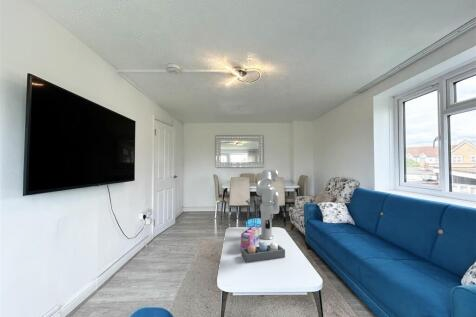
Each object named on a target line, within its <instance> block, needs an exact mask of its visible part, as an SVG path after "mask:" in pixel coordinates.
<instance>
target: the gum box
mask: <svg viewBox="0 0 476 317" xmlns="http://www.w3.org/2000/svg"><path fill="white" fill-rule="evenodd" d="M257 227H258V228H256V226H255V227H252V226H251V227H249V228H247V229H246V230H245V231H243V232H242V233H240V249H241V248H248V246H250V245H253V246H255V247H258V246H259V243H261V242H260V226H257Z"/></svg>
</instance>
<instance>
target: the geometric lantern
mask: <svg viewBox="0 0 476 317" xmlns="http://www.w3.org/2000/svg"><path fill="white" fill-rule="evenodd" d="M253 201H254V202H253ZM245 203H247V204H248V207H247V213H249V212H250V211H251V208H252V212H253V214H252V216H251V223H249V215H247V217H246V226H247V229H249V228H250V227H255V228H258V227H259V228H261V223H258V215H257V214H258V212H257V211H259V210H260V206H261V204H263V200H262V198H259V197H258V196H256V195H255V196H252V197H250V198H248V199H247V200H245ZM254 205H255V206H254ZM255 208H256V209H255ZM255 222H256V223H255ZM250 225H251V226H250ZM255 225H256V226H255ZM258 225H259V226H258Z"/></svg>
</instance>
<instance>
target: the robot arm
mask: <svg viewBox="0 0 476 317" xmlns="http://www.w3.org/2000/svg"><path fill="white" fill-rule="evenodd" d="M278 179H279V171H278V170H277V169H263V170H262V171H261V172H260V173H259V174H258V181H257V183H256V188H255V190H256V191H255V192H256V195H257V196H260V197H261V201H262V200H263V204H260V205H261V206H259V208H260V209H259V211H260V226H261V227H260V228H261V229H260V230H261V231H260V232H261V234H259V239H260V240H261V239H262V240H272V239H274V235H272V233H273V232H272V225H273V224H272V221H273V219H274V215H276V214H279V213H280V196H279V192H277V191H276V190H275V187H274V186H273V185H272V183H277V181H278ZM271 185H272V186H271Z"/></svg>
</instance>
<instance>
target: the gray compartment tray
mask: <svg viewBox="0 0 476 317" xmlns="http://www.w3.org/2000/svg"><path fill="white" fill-rule="evenodd" d="M240 256H241V258H242V257H243V258H242V259H243V261H245V263H247V264H248V263H255V262H261V261H269V260H276V259H283V258H284V259H285V258H286V249H285V248H284V247H283V246H281V245H280V244H278V250H275V251H271V250H270V244H267V252H260V251H259V245H257V246H256V247H255V253H252V254H248V248H241V247H240Z"/></svg>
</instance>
